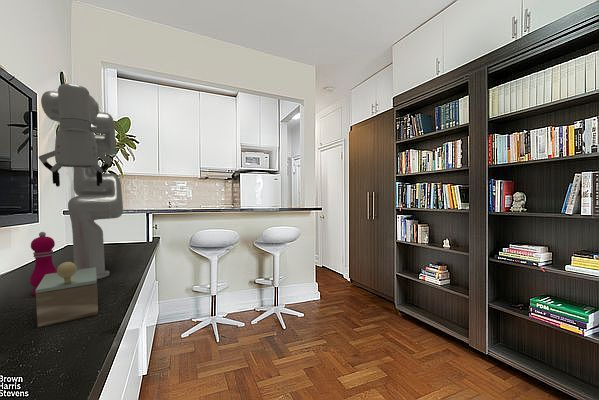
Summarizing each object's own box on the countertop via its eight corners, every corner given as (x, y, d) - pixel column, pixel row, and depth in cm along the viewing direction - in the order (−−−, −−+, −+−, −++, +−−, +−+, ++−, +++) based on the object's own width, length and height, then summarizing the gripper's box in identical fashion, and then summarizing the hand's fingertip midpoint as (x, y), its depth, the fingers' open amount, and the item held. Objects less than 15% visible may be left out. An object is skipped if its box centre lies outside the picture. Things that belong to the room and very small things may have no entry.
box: (47, 305, 86) (45, 277, 86) (97, 295, 93) (96, 270, 93) (37, 327, 71) (35, 294, 71) (98, 314, 78) (96, 284, 78)
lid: (45, 277, 86) (44, 255, 86) (96, 269, 93) (95, 249, 93) (35, 293, 71) (33, 267, 71) (96, 283, 78) (95, 259, 77)
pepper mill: (43, 296, 94) (39, 233, 93) (24, 295, 95) (21, 233, 95) (65, 289, 101) (62, 230, 101) (48, 288, 103) (44, 230, 102)
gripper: (109, 133, 96) (112, 186, 96) (39, 128, 87) (42, 187, 86) (111, 128, 90) (113, 184, 90) (35, 121, 80) (38, 185, 80)
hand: (78, 186), depth 88 cm, fingers open, 9 cm apart
